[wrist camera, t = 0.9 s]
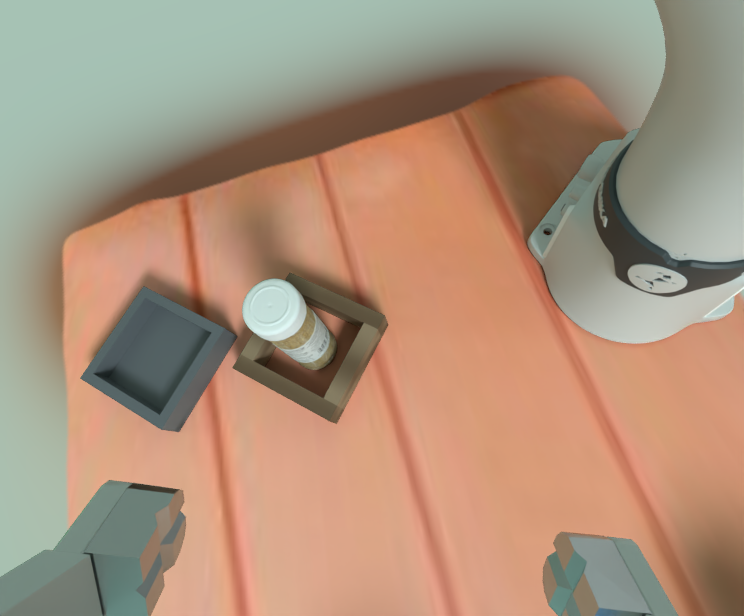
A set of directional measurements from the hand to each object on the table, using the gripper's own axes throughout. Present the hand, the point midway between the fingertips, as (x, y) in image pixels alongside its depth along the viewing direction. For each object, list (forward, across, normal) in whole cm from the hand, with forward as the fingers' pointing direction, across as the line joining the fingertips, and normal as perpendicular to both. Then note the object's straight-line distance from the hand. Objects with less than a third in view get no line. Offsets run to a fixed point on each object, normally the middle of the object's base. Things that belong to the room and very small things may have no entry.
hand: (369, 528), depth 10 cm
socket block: (+32, +5, +15) cm, 36 cm away
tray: (+33, +20, +19) cm, 43 cm away
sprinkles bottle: (+32, +5, +15) cm, 36 cm away
